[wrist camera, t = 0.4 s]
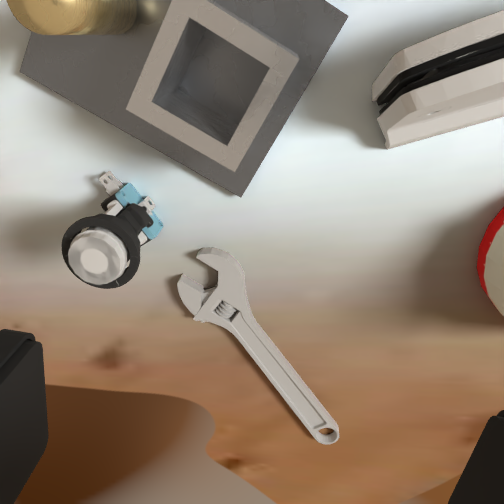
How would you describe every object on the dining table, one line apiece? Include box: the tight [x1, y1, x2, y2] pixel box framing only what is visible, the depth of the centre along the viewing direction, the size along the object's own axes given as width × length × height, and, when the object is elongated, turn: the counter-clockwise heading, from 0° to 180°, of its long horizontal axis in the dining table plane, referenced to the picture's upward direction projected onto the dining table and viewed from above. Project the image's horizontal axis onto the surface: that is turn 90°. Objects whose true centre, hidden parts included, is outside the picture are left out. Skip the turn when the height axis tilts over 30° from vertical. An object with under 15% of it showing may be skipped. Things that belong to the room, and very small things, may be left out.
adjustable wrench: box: [177, 247, 339, 444], centre depth 45 cm, size 25×6×2 cm, turn 29°
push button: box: [62, 171, 163, 289], centre depth 34 cm, size 7×5×10 cm
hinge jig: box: [20, 0, 348, 197], centre depth 30 cm, size 15×19×8 cm
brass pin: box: [7, 0, 137, 35], centre depth 27 cm, size 4×4×10 cm
